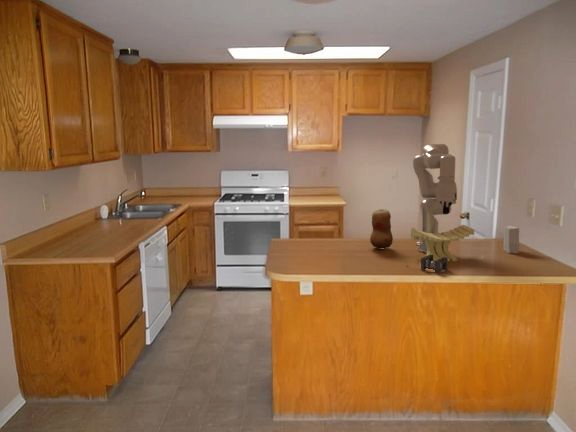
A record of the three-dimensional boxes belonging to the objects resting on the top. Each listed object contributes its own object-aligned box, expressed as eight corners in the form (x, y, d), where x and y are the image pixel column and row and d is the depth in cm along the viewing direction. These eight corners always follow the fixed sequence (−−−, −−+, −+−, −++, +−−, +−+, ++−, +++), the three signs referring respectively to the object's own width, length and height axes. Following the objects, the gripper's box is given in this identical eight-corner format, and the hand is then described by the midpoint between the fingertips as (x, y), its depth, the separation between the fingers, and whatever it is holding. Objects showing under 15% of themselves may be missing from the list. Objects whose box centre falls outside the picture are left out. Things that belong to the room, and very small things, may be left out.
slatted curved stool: (460, 253, 268) (461, 223, 265) (473, 260, 253) (474, 229, 249) (410, 256, 266) (411, 226, 263) (420, 264, 251) (420, 232, 247)
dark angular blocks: (434, 272, 233) (434, 258, 232) (443, 268, 240) (443, 254, 238) (438, 273, 232) (438, 259, 231) (447, 269, 238) (447, 255, 237)
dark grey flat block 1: (420, 269, 239) (420, 258, 238) (429, 265, 245) (429, 254, 244) (424, 270, 238) (424, 258, 237) (433, 266, 244) (433, 254, 243)
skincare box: (518, 253, 263) (520, 228, 260) (508, 253, 263) (509, 228, 260) (512, 249, 271) (514, 225, 268) (502, 249, 272) (503, 225, 269)
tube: (421, 268, 241) (422, 260, 241) (426, 266, 244) (426, 258, 243) (439, 272, 234) (439, 264, 233) (443, 270, 237) (443, 262, 236)
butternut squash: (368, 251, 281) (367, 211, 276) (372, 245, 293) (372, 207, 288) (390, 252, 276) (390, 212, 271) (394, 246, 288) (394, 208, 283)
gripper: (430, 179, 241) (429, 213, 244) (456, 181, 229) (455, 216, 233) (438, 177, 245) (437, 211, 249) (464, 179, 234) (462, 214, 238)
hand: (446, 213), depth 241 cm, fingers closed
